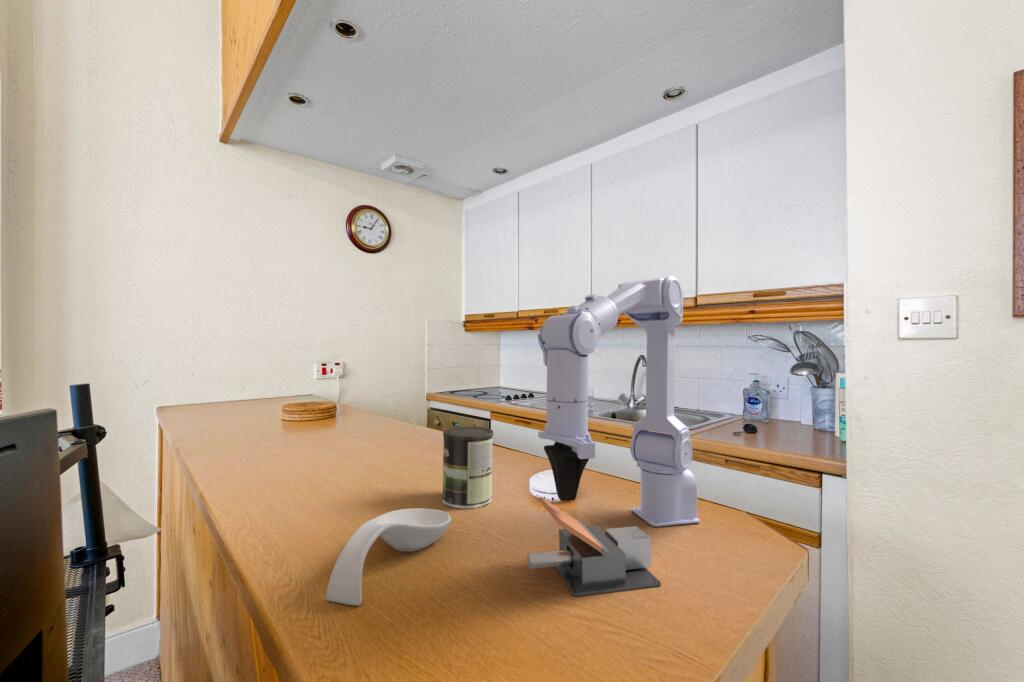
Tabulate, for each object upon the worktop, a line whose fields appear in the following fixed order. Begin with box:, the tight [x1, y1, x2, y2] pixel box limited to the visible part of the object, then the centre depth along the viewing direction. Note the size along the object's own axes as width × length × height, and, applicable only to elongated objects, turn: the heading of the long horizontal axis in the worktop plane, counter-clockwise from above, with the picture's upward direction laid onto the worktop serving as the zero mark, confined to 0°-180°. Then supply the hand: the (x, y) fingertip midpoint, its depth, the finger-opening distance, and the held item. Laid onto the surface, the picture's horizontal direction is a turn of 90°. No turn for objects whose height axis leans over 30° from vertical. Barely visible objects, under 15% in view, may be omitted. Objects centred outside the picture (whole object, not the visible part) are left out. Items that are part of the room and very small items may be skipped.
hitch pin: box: [526, 525, 652, 570], centre depth 58 cm, size 17×4×4 cm, turn 103°
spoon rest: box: [325, 507, 452, 607], centre depth 61 cm, size 24×12×7 cm, turn 166°
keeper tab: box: [538, 496, 608, 556], centre depth 58 cm, size 8×9×1 cm
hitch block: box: [554, 525, 662, 598], centre depth 58 cm, size 12×11×4 cm
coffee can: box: [441, 426, 494, 510], centre depth 86 cm, size 10×10×14 cm
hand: (566, 498), depth 58 cm, fingers closed
